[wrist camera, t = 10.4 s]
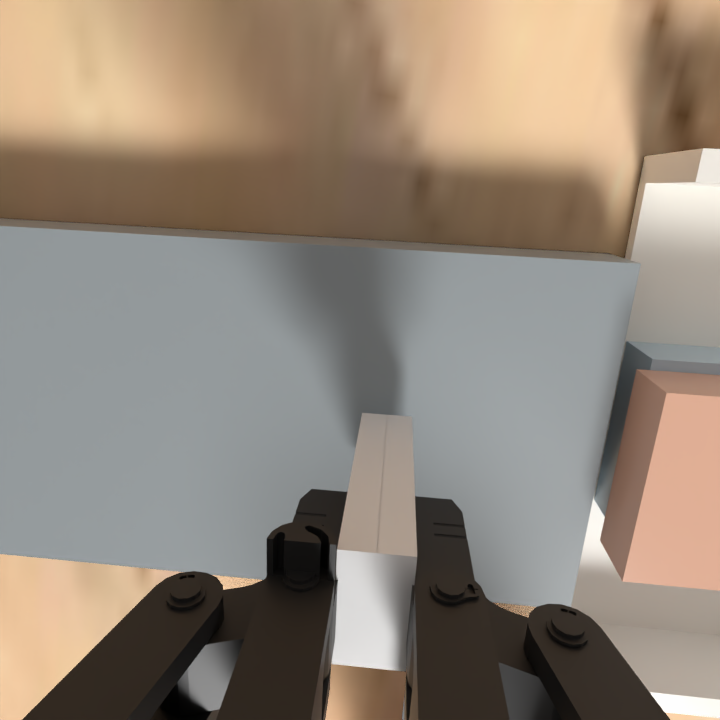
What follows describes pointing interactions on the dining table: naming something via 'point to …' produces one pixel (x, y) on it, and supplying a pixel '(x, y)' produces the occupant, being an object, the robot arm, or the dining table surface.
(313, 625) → the robot arm
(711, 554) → the terracotta tile
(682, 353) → the blue tile
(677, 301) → the box
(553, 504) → the board
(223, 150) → the dining table surface
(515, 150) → the dining table surface
